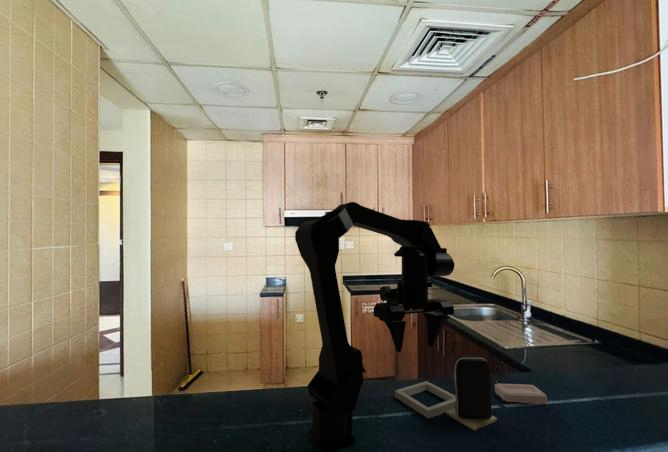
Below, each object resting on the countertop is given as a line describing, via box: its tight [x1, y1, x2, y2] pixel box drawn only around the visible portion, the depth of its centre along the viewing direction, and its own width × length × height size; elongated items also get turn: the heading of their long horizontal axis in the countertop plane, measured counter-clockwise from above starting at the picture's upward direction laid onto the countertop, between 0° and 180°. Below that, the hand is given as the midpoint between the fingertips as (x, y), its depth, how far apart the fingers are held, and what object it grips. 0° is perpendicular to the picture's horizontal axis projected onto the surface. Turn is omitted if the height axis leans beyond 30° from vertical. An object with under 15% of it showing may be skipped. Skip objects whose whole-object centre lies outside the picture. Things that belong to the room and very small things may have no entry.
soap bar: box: [494, 383, 548, 405], centre depth 68 cm, size 5×9×2 cm, turn 85°
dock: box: [394, 380, 456, 420], centre depth 66 cm, size 10×10×2 cm
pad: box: [445, 409, 498, 431], centre depth 60 cm, size 7×6×1 cm
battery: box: [451, 354, 493, 418], centre depth 61 cm, size 7×4×11 cm, turn 90°
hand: (415, 348), depth 65 cm, fingers open, 9 cm apart
